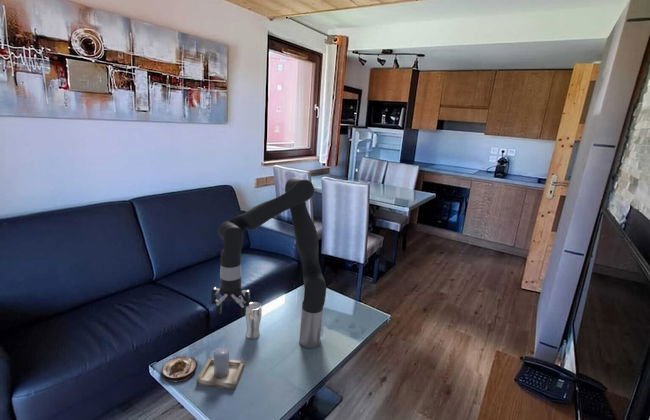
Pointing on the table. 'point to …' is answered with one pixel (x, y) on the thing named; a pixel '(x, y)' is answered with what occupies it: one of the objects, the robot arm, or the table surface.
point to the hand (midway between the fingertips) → (231, 313)
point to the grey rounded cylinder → (221, 363)
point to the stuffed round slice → (179, 368)
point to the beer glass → (253, 320)
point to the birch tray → (228, 382)
